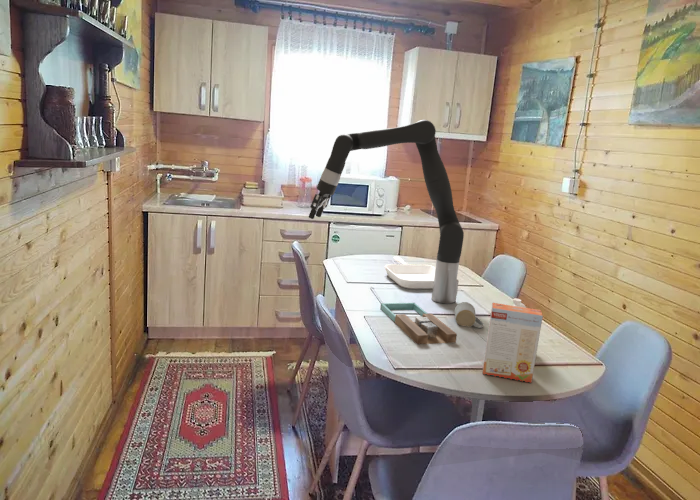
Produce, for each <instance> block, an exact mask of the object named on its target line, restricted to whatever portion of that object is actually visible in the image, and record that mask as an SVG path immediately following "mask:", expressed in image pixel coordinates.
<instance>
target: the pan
mask: <svg viewBox="0 0 700 500" xmlns="http://www.w3.org/2000/svg"><path fill="white" fill-rule="evenodd" d="M393 260H394V261H395V262H397V263H389V264H385V265H384V269H385V270H386V274H387V276H388V278H390V280H392V281H393V282H394V283H395V284H396V285H398V286H399V287H401V288H404V289H409V290H433V283H434V276H435V268H436V265H435V266H433V265H431V264H409V263H407V262H405V261H404V259H403V258H401V257H400V256H396V255H395V256H393Z"/></svg>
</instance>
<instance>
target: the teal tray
mask: <svg viewBox="0 0 700 500" xmlns="http://www.w3.org/2000/svg"><path fill="white" fill-rule="evenodd" d="M379 308H380V311H382V312H383V313H384V314H385V315H386V316H387V317H388V318H390V319H391V320H392V322H394V323H395V317H396V314H395V313H394V312H393V311H394V310H395V311H399V310H400V311H415V312H416V313H418V314H419V315H420V317H422V315H423V314H429V313H428V312H427V311H426V310H424V309H423V308H422V307H420V306H419V304H417V303H416V302H386V303H385V302H382V303H380V307H379ZM391 310H393V311H391Z"/></svg>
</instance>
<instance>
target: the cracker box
mask: <svg viewBox="0 0 700 500" xmlns="http://www.w3.org/2000/svg"><path fill="white" fill-rule="evenodd" d="M543 317H544V315H543V312H542V310H541V309H536V308H530V307H526V308H524V307H517V306H513V305H509V304H504V303H498V302H492V304H491V310H490V317H489V324H488V330H487V331H488V332H487V338H486V344H485V351H484V355H483V356H484V357H483V363H482V364H483V365H482V375H485V374H487V375H486V376H490V375H494V376H493V377H496V376H499V377H498V378H501V377H504V378H503V379H507V378H510V379H509V380H512V379H515V380H514V381H518V380H520V381H519V382H523V381H525V382H524V383H528V382H530V383H529V384H531V383H532V381H533V375H534V369H535V363H536V360H537V359H536V357H537V352H538V346H539V341H540V335H541V330H542V323H543Z"/></svg>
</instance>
